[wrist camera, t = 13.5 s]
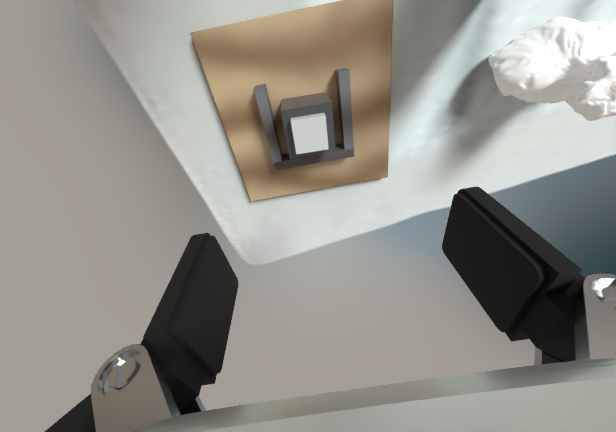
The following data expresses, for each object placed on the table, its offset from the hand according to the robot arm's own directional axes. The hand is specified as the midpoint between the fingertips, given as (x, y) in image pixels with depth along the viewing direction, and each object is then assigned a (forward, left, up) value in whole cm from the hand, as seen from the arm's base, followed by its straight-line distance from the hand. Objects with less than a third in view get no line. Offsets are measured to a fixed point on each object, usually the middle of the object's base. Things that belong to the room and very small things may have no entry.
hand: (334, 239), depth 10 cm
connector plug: (0, 0, -20) cm, 20 cm away
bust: (-1, +24, -22) cm, 32 cm away
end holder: (0, 0, -21) cm, 21 cm away
